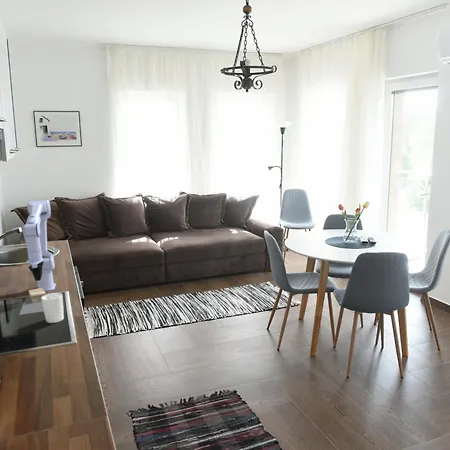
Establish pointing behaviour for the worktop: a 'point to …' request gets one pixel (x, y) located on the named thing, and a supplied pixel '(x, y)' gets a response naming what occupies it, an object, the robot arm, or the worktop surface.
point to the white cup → (53, 307)
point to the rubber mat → (31, 307)
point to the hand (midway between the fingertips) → (38, 279)
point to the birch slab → (36, 294)
